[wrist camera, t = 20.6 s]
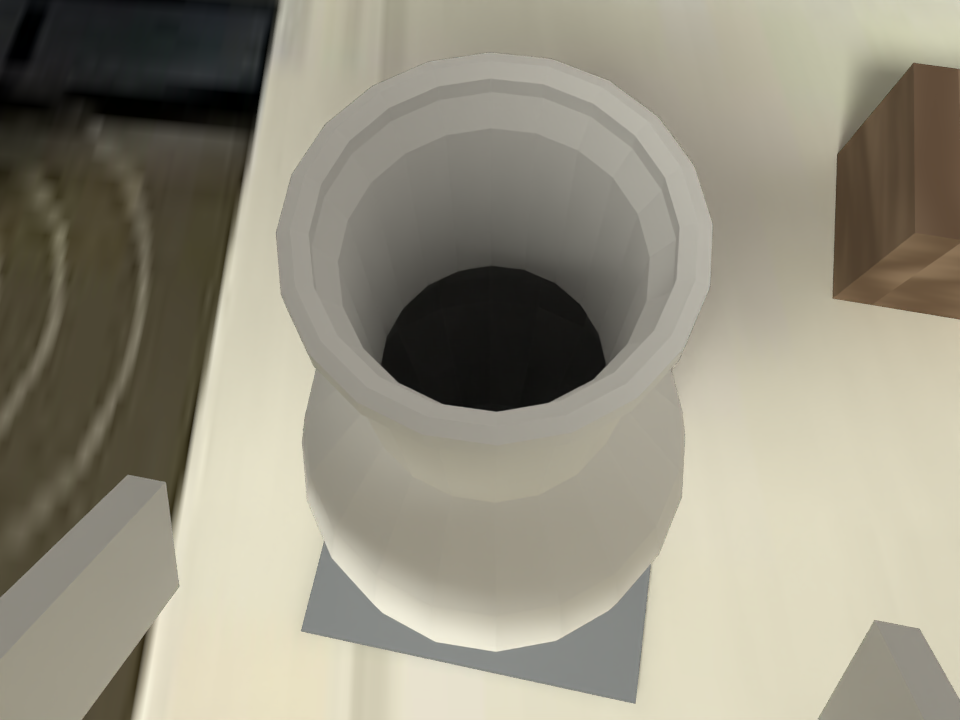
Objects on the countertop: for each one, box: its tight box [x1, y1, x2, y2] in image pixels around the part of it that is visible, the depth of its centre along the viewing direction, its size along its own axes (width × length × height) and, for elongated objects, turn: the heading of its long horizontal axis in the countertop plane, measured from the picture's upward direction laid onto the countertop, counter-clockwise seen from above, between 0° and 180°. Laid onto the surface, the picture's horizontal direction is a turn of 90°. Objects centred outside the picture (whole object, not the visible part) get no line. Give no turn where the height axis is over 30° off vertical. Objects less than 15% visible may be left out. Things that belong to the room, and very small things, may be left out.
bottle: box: [276, 52, 713, 652], centre depth 19 cm, size 11×11×25 cm
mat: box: [301, 541, 651, 704], centre depth 31 cm, size 15×15×1 cm
